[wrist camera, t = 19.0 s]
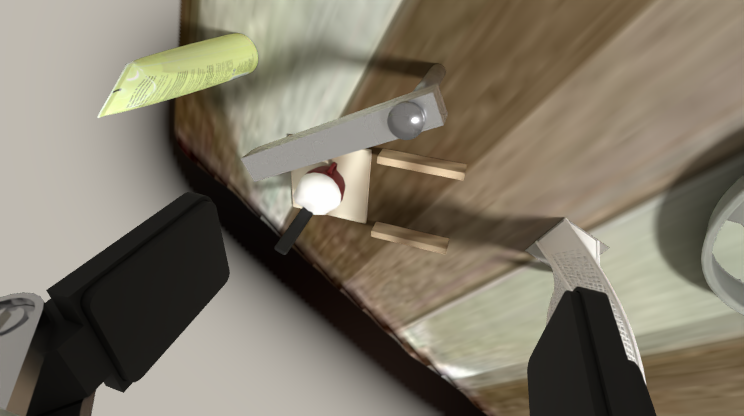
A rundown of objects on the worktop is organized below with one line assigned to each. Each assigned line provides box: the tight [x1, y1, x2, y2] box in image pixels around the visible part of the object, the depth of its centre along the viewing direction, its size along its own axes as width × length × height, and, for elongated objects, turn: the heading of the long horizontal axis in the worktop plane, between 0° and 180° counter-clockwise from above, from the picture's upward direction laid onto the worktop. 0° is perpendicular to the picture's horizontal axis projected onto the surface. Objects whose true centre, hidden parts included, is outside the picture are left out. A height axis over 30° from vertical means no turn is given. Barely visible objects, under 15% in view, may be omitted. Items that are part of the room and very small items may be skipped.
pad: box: [289, 134, 372, 224], centre depth 53 cm, size 12×12×1 cm
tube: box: [98, 33, 258, 118], centre depth 39 cm, size 6×5×20 cm
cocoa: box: [275, 162, 346, 255], centre depth 48 cm, size 10×6×12 cm, turn 132°
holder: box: [371, 149, 467, 254], centre depth 50 cm, size 11×13×2 cm
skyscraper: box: [525, 218, 646, 384], centre depth 37 cm, size 8×8×28 cm
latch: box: [241, 64, 448, 182], centre depth 38 cm, size 20×3×17 cm, turn 114°
